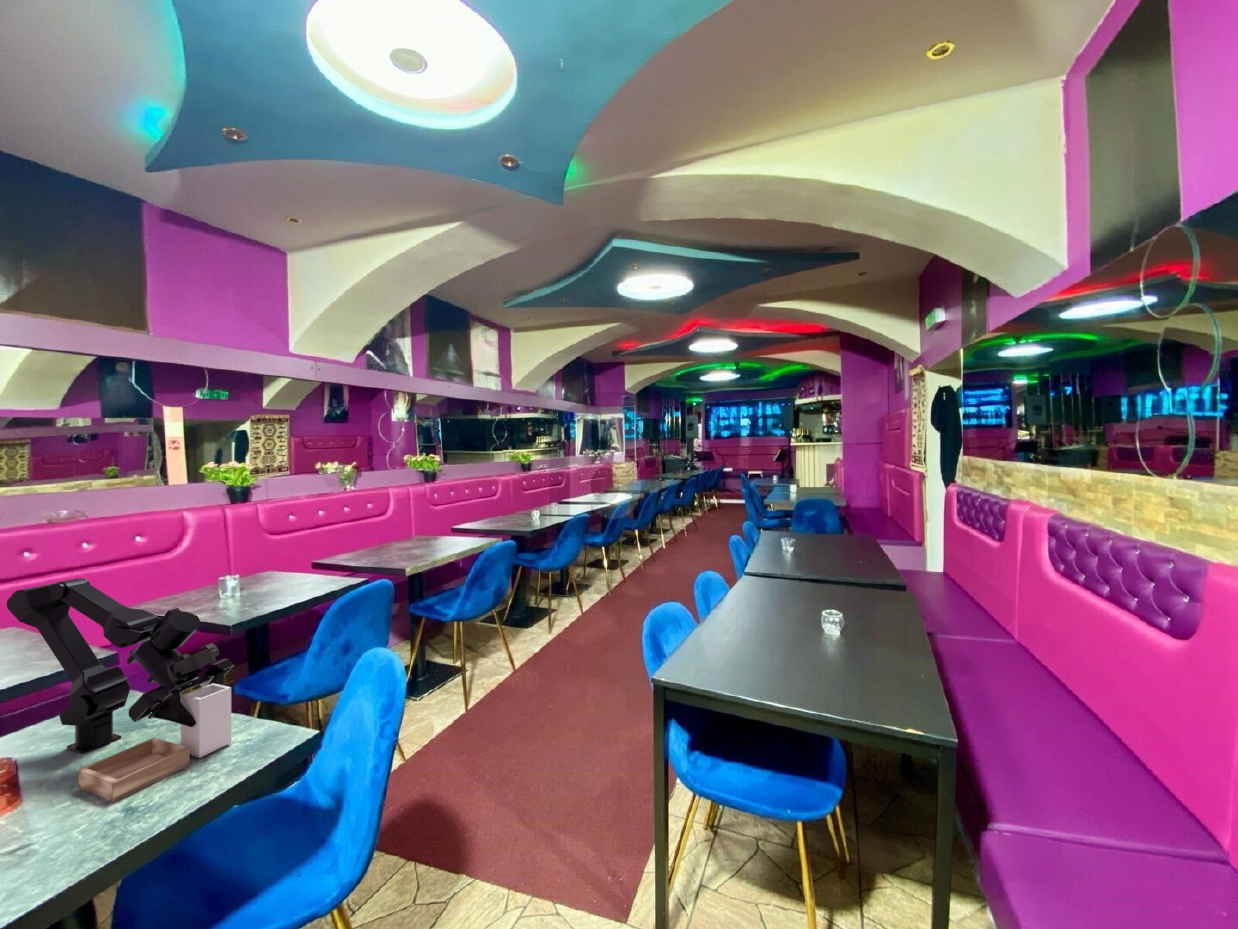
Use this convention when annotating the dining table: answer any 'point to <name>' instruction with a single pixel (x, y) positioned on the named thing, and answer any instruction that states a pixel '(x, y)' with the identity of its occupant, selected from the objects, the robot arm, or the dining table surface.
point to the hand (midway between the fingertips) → (210, 716)
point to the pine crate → (133, 769)
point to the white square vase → (207, 719)
